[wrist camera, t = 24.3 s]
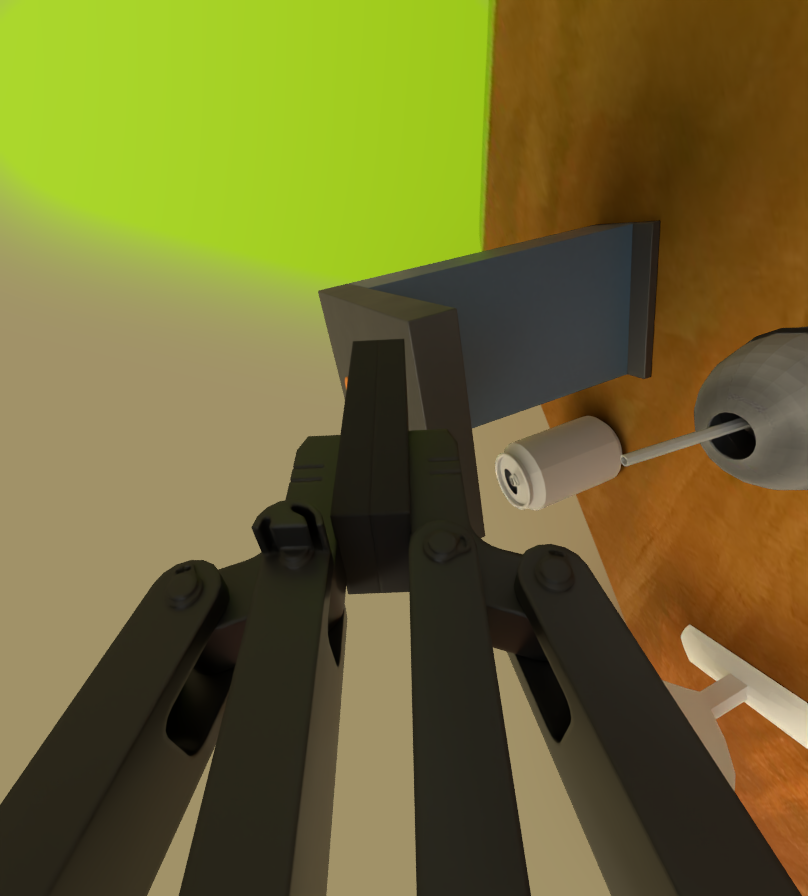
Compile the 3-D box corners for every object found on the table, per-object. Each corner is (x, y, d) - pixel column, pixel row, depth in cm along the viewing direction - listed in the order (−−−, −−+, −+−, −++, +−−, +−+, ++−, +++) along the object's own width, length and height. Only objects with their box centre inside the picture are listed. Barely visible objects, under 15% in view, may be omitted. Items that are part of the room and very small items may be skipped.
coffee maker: (818, 210, 28) (394, 324, 20) (778, 412, 33) (437, 557, 26) (596, 224, 43) (309, 292, 36) (595, 361, 49) (349, 443, 42)
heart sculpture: (673, 648, 52) (537, 726, 47) (672, 613, 50) (530, 689, 46) (840, 773, 38) (670, 900, 33) (847, 729, 36) (669, 858, 32)
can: (569, 423, 56) (482, 456, 53) (608, 404, 49) (510, 440, 46) (596, 482, 55) (508, 519, 52) (639, 471, 48) (541, 513, 45)
